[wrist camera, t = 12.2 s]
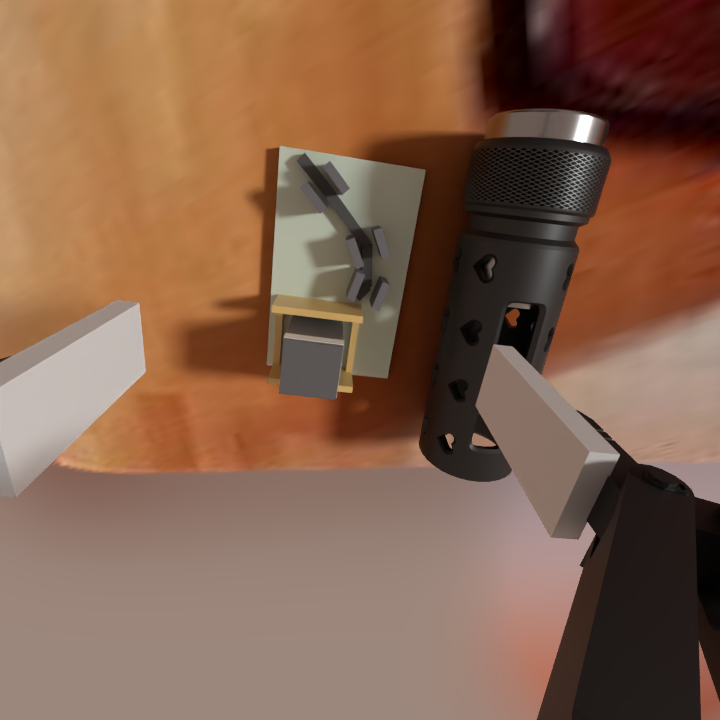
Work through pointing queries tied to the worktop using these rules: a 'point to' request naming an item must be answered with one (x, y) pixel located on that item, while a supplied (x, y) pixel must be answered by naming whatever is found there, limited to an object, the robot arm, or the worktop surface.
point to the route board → (345, 246)
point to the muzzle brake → (510, 267)
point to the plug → (312, 357)
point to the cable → (346, 218)
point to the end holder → (316, 310)
